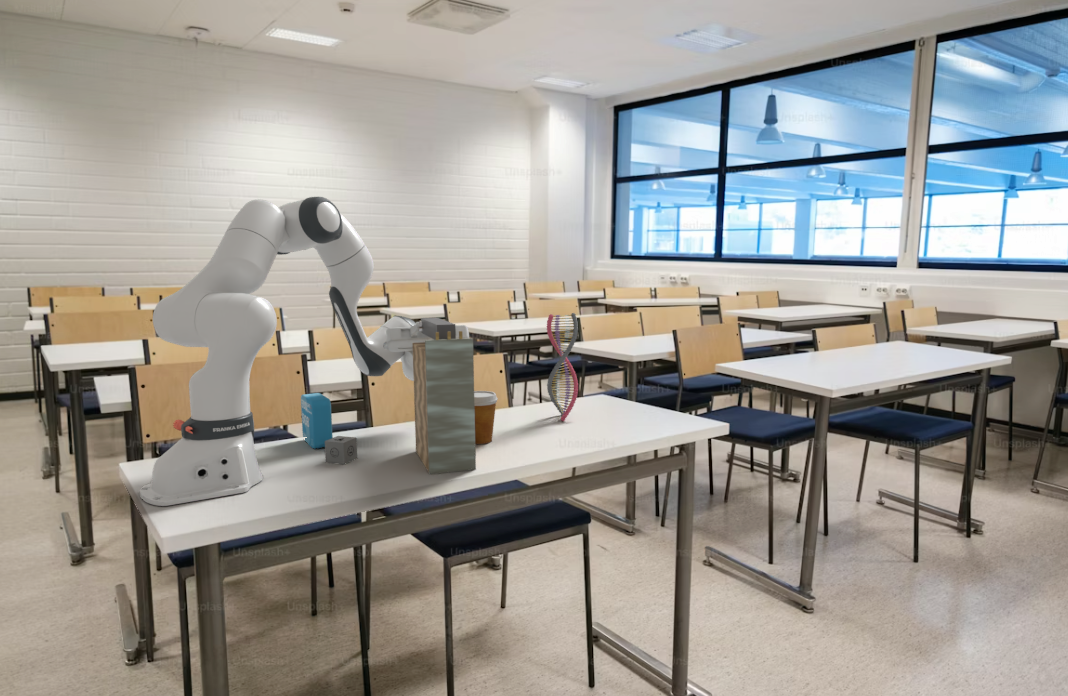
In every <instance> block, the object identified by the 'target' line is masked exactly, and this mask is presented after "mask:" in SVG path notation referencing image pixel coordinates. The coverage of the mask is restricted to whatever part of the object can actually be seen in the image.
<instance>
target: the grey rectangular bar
mask: <svg viewBox="0 0 1068 696" xmlns="http://www.w3.org/2000/svg"><path fill="white" fill-rule="evenodd" d="M420 322H423V331H421V333H423V334H425V335H427V336H428V337H430V338H432V339H434V340H436V334H435V332H439V339H447V332H451V339H456V328H455V325H456V323H452V322H451V321H448V320H445V319H442V318H439V317H421V318H420Z"/></svg>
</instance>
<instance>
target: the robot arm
mask: <svg viewBox="0 0 1068 696" xmlns="http://www.w3.org/2000/svg"><path fill="white" fill-rule="evenodd" d="M310 249H315V250H316V252H317V254H318V255H319V257H320V259H321V260H322V262H323V264H324V266H325V268H326V269H327V271H328V274H329V279H330V289H329V291H328V296H329V299H330V304H331V306H332V308H333V311H334V313H335V315H336V318H337V321H338V323H339V324H340V327H341V329H342V332H343V334H344V337H345V339H346V341H347V343H348V345H349V348H350V351H351V354H352V359H353V361H354V363H355V366H356V367H357V368H358V369H359V371H360V372H361V373H363V375H365V376H367V377H382V376H384V375H385V373H386V372H387V371H388V370H389V369H391V367H392V366H393V365H394V364H395V363H397V361H399V360H400V361H401V363H402V364H401V367H402V372H403V375H404V376H405V378H406V379H407V380H410V381H412V382H414V375H413V344H412V343H420V342H425V340H434V339H432V338H430V337H428V336H427V335H425V334H423V333H421V331H423V322H421V321H414V320H413V319H411V318H409V317H405V316H402V315H393V316H392V317H391V318H390V319H388V320H387V321H386V322H384V323H383V324H382V325H381V326H380V327H379V328H377V329H376V330H374V331H373V332H372V333H371V334H370V335H369V336H368V337H367V335H366V332H365V329H364V328H363V324H362V322H361V320H360V318H359V316H358V309H357V308H358V303H359V300H360V298H361V296H362V294H363V293H364V291H365V289H366V287H367V286H368V285H369V283H370V282H371V279H372V276H373V274H374V269H375V268H374V267H375V264H374V263H375V262H374V259H373V256H372V254H371V252H370V250H369V248H368V247H367V245H366V243H365V242H364V239H362V237H361V236H360V234H359V233H358V232H357V230H356V229H355V227H354V226H353V225H352V223H350V221H349V220H348V219H347V218H346V217H345V216H344V215H343V214H342V213H340V210H339V208H338V207H337V206H336V205H335V204H334V203H333V202H332V201H331V200H330V199H328V198H326V197H323V196H309V197H306V198H305V199H301V200H296V201H293V202H288V203H285V204H282V205H280V206H277V205H276V204H275V203H273V202H271V201H268V200H265V199H261V198H260V199H259V198H257V199H253V200H250V201H248V202H246V203H245V204H244V206H242V208H241V209H240V210H239V211H238V212H237V213H236V215H235V216H234V217H233V219H232V220H231V222H230V224H229V225H228V227H227V229H226V231H225V232H224V234H223V237H222V239H221V240H220V242H219V245H218V246H217V248H216V250H215V251H214V254H213V255H212V257H211V258H210V260H209V261H208V262H207V263H206V265H205V266H204V267H203V268H202V269H201V271H199V272H198V273H197V274H196V276H194V277H193V278H192V279H191V280H190V281H189V282H188V283H186V284H185V285H183V287H181V288H180V289H178V290H177V291H176V292H174V293H171V294H170V295H168V296H165V297H164V298H162V299H160V301H158V302H157V304H156V306H155V307H154V309H153V310H154V311H153V314H152V325H153V328H154V331H155V333H156V335H157V336H158V337H159V338H160V339H161V340H163V341H165V342H167V343H171V344H173V345H178V346H182V347H186V348H208V349H207V350H208V353H207V358H206V360H205V361H206V362H205V364H204V365H203V367H201V368H200V369H199V370H197V371H195V372H194V373H193V374H192V376H191V377H190V378H189V381H188V390H189V391H188V394H189V408H190V417H189V418H188V419H186V421H184V420H182V419H176V420H175V421H174V422H173V423H172V426H173V428H174V429H175V430H177V431H179V432H181V438H180V439H178V441H177V442H176V443H175V444H173V445H172V446H171V447H169V449H168V450H166V451H165V452H164V453H163V454H161V456H159V457H158V458H157V459H156V461H154V464H153V468H152V474H151V483H148V484H144V485H143V486H142V487H140V489H139V498H141V500H142V499H143V501H144V502H145V503H147V504H150V505H152V506H157V507H158V506H159V507H161V506H162V507H167V506H172V505H178V504H179V505H180V504H184V503H189V502H190V503H191V502H196V501H203V500H208V499H213V498H219V497H226V496H231V495H239V494H242V493H246V492H248V491H249V490H250V489H251V488H252V487H253V486H255V485H256V484H258V483H260V482H261V481H262V480H263V479H264V476H263V472H262V470H261V468H260V465H259V463H258V458H257V454H256V449H255V448H256V447H255V444H254V443H255V442H254V438H255V421H254V416H253V412H252V411H251V401H250V400H251V399H250V398H251V397H250V395H251V394H250V377H251V373H252V372H251V371H252V367H253V364H254V363H255V362H254V361H255V360H256V359H255V358H256V357H257V355H258V354H259V352H260V350H261V349H262V348H263V347H264V346H265V345H266V344H267V343H268V342H270V341H271V339H272V338H273V336H274V335H275V332H276V330H277V326H278V320H277V314H276V311H275V308H274V306H273V305H272V303H271V302H270V301H269V300H268V299H266V298H265V297H261V296H258V295H253V294H252V293H255V292H256V291H258V290H259V289H260V288H262V286H263V285H264V284H265V282H266V280H267V277H268V275H269V273H270V271H271V269H272V267H273V264H274V261H275V260H276V257H277V255H279V256H280V255H289V254H291V253H295V252H300V251H306V250H310ZM455 328H456V339H459V331H462V337H463V338H470V333H469V332H470V331H469V327H468V326H467V325H465V324H461V325H460V324H458V325H457V324H455Z"/></svg>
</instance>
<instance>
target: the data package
mask: <svg viewBox="0 0 1068 696" xmlns="http://www.w3.org/2000/svg"><path fill="white" fill-rule="evenodd" d="M300 409H301V410H300V411H301V427H302V428H301V429H302V430H301V431H302V438H303V437H307V438H305V441H306V442H307V443H308V444H307V443H306V442H305V441H304V442H305V443H306V444H307V445H308V446H309V447H311V448H312V449H313V448H314V449H313V450H316V448H317V449H323V448H322V447H324V448H325V441H326V440H329V439H331V438H334V437H333V422H332V421H333V417H332V404H331V400H330V397H329V398H328V397H326V396H325V395H324V394H322V393H320V392H313V393H306V394H301V396H300Z"/></svg>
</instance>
